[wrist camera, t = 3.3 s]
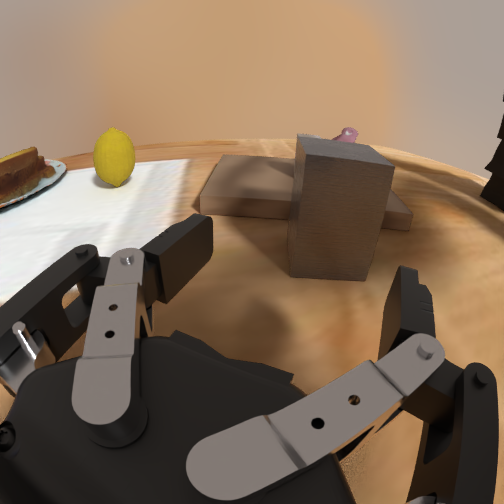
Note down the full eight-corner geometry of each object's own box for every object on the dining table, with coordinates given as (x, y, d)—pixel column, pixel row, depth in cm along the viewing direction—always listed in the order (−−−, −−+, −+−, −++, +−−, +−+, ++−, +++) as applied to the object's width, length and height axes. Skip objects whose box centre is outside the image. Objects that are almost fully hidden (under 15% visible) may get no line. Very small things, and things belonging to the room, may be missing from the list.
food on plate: (17, 169, 49) (13, 140, 45) (95, 168, 45) (92, 131, 41) (-71, 224, 28) (-81, 190, 24) (-22, 243, 24) (-37, 192, 20)
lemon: (125, 177, 40) (120, 122, 35) (145, 185, 37) (141, 124, 32) (91, 188, 36) (84, 131, 32) (108, 198, 33) (100, 133, 29)
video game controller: (339, 168, 53) (361, 139, 49) (319, 153, 53) (340, 123, 49) (345, 157, 61) (363, 132, 56) (327, 144, 61) (345, 119, 56)
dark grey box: (286, 237, 27) (297, 136, 22) (349, 241, 27) (368, 145, 22) (290, 277, 22) (306, 154, 17) (365, 281, 22) (395, 166, 17)
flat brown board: (368, 180, 43) (376, 136, 39) (408, 230, 30) (424, 169, 26) (222, 167, 43) (223, 121, 40) (200, 214, 30) (198, 145, 26)
